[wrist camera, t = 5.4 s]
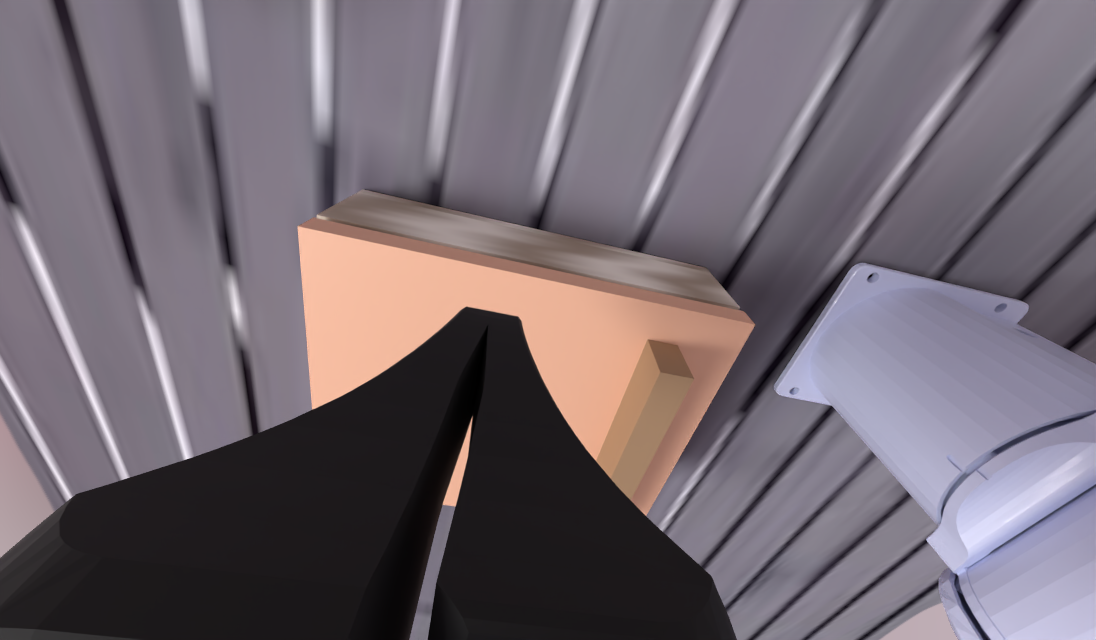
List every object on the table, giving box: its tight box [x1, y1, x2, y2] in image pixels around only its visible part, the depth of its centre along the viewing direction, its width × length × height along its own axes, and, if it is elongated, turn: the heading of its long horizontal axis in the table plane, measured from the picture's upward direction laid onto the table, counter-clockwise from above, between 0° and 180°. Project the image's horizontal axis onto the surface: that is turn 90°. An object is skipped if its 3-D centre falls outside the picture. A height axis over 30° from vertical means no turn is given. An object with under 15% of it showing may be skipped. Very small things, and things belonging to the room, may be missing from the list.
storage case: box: [317, 190, 740, 310], centre depth 20 cm, size 16×13×4 cm
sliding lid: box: [298, 218, 755, 516], centre depth 17 cm, size 16×13×3 cm
